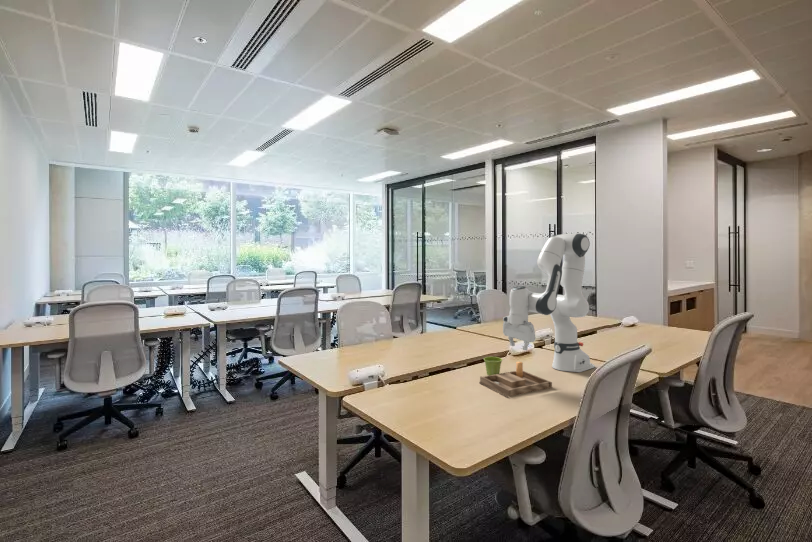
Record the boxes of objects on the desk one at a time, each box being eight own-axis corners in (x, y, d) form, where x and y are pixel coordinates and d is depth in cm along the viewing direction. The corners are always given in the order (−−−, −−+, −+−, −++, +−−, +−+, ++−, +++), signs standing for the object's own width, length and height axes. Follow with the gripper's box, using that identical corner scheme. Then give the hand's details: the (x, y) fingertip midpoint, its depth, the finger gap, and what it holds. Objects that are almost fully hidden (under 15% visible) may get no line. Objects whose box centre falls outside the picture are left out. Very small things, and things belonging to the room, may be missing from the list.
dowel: (520, 377, 198) (519, 361, 198) (524, 379, 195) (523, 362, 195) (515, 378, 197) (514, 362, 196) (519, 379, 194) (518, 363, 194)
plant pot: (501, 373, 208) (501, 356, 208) (503, 378, 199) (503, 361, 199) (483, 372, 209) (482, 356, 209) (484, 378, 200) (484, 361, 200)
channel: (521, 376, 203) (521, 369, 202) (552, 389, 182) (552, 382, 182) (479, 383, 193) (479, 376, 193) (507, 398, 173) (507, 390, 172)
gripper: (538, 322, 186) (538, 351, 187) (510, 316, 205) (510, 343, 206) (527, 323, 184) (527, 353, 184) (500, 317, 203) (500, 344, 203)
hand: (518, 347), depth 195 cm, fingers open, 8 cm apart
